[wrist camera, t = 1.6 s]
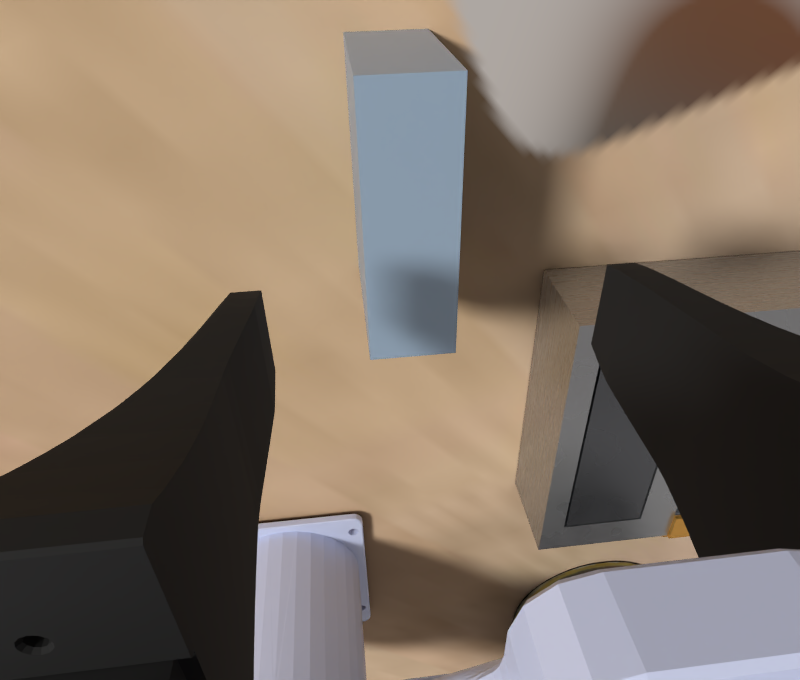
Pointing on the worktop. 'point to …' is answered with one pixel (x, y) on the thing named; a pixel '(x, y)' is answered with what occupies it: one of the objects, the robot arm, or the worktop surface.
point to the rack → (616, 403)
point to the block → (407, 186)
